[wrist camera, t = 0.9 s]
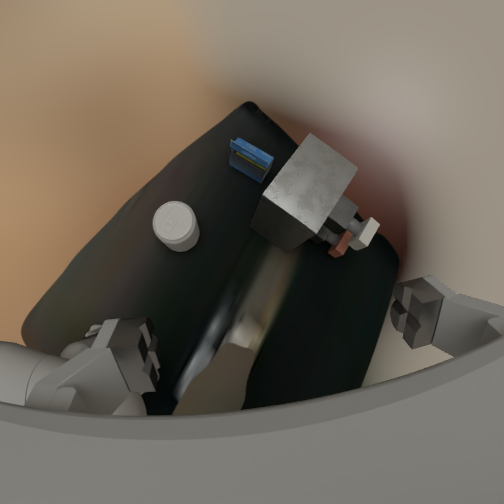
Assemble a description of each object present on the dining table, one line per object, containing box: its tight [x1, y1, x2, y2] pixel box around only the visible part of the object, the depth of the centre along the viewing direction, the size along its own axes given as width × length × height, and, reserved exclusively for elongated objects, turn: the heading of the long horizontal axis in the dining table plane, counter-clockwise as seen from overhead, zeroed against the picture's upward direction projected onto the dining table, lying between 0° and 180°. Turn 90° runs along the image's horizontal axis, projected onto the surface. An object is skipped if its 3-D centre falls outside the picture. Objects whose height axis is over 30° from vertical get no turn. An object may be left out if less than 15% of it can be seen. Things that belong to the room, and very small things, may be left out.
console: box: [249, 133, 359, 253], centre depth 58 cm, size 14×14×22 cm
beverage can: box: [153, 201, 199, 252], centre depth 60 cm, size 8×8×12 cm
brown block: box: [325, 230, 353, 258], centre depth 63 cm, size 5×6×5 cm
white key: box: [346, 217, 380, 250], centre depth 52 cm, size 5×6×5 cm
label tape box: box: [229, 138, 274, 183], centre depth 63 cm, size 9×4×12 cm, turn 58°
